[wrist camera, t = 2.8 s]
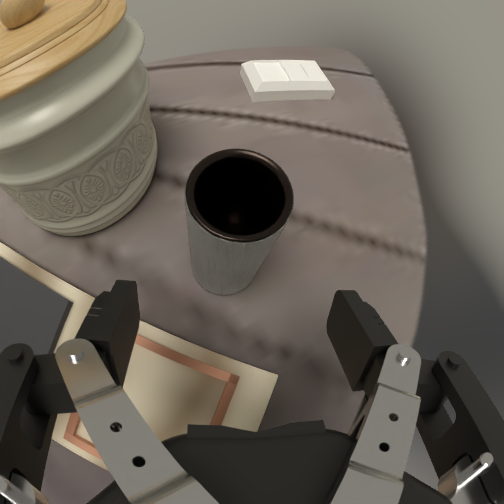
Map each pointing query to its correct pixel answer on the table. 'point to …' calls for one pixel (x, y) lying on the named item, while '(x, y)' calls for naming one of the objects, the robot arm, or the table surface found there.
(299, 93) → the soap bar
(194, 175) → the grey tumbler
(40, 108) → the jar
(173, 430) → the board
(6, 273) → the pad
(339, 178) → the table surface
